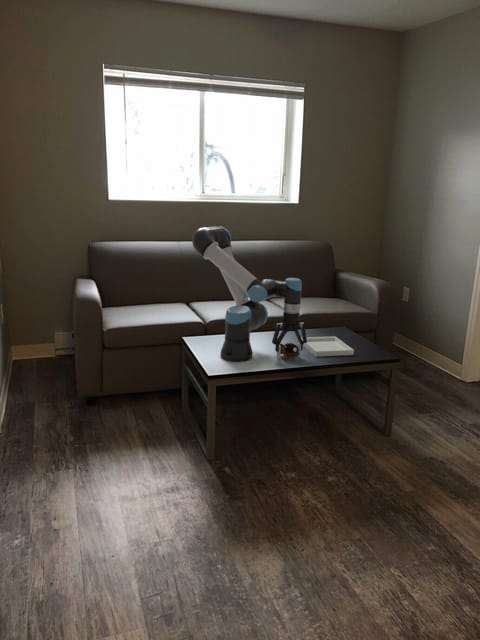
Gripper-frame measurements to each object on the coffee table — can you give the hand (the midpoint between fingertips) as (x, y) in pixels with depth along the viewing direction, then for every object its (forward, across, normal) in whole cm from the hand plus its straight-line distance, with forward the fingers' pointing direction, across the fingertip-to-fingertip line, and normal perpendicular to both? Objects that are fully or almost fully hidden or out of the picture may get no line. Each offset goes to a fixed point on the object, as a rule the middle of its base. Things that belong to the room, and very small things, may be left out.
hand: (288, 357), depth 243 cm
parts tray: (0, +24, +11) cm, 26 cm away
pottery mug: (0, 0, +1) cm, 1 cm away
